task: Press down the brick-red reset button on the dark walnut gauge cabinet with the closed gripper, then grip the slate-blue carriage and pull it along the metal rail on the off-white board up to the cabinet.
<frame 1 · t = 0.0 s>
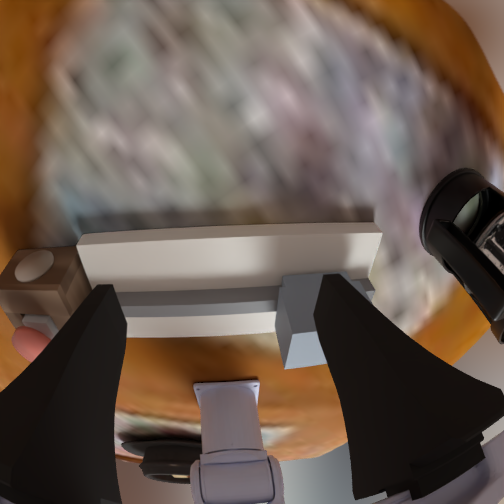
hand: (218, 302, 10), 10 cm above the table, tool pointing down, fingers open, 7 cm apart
reset button: (43, 327, 17), point 5 cm above the table, slide at 0.0 cm
carriage: (321, 317, 20), point 5 cm above the table, slide at -6.0 cm
french press: (451, 212, 21), on the table
gauge cabinet: (62, 285, 21), on the table
rail: (231, 280, 22), on the table
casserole: (179, 443, 48), on the table
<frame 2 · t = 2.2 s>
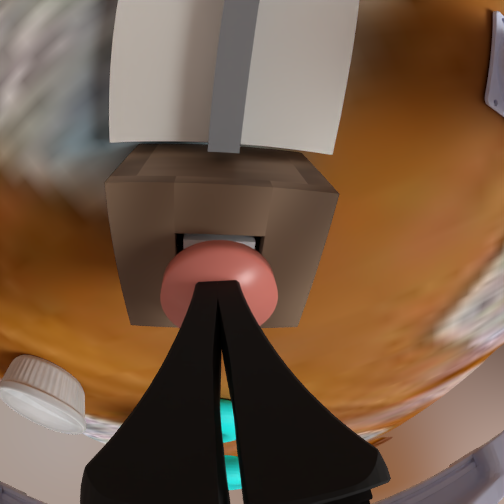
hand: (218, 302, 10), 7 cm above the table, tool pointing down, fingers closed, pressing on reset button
reset button: (217, 259, 11), point 4 cm above the table, slide at -0.6 cm, touching gripper
donuts: (209, 409, 30), on the table
gauge cabinet: (215, 209, 15), on the table
ramekin: (49, 374, 24), on the table
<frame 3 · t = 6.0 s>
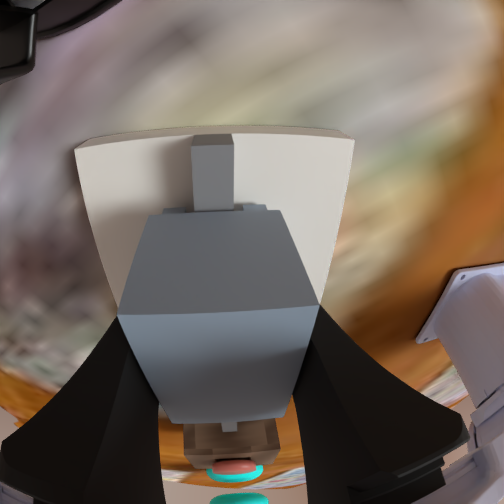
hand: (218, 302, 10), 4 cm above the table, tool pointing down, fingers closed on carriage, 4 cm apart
reset button: (232, 449, 22), point 4 cm above the table, slide at -1.2 cm
donuts: (233, 462, 40), on the table
carriage: (218, 313, 9), point 4 cm above the table, slide at -6.0 cm, touching gripper
gauge cabinet: (228, 416, 25), on the table
rail: (220, 324, 16), on the table
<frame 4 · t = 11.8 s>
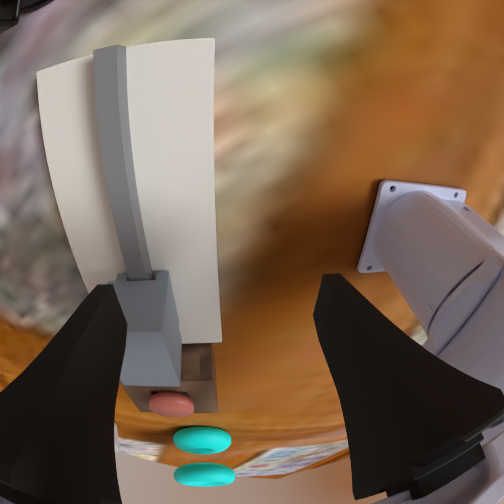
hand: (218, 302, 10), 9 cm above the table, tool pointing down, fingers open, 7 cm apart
reset button: (171, 386, 24), point 4 cm above the table, slide at -1.2 cm
donuts: (201, 432, 42), on the table
carriage: (144, 328, 17), point 5 cm above the table, slide at 5.2 cm
gauge cabinet: (173, 355, 26), on the table
rail: (140, 222, 18), on the table
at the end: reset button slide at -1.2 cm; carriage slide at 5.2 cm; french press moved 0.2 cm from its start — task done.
